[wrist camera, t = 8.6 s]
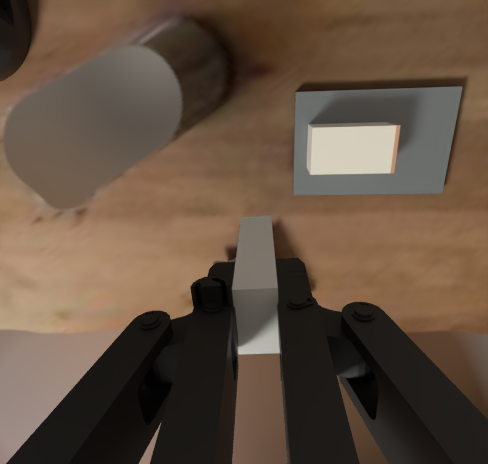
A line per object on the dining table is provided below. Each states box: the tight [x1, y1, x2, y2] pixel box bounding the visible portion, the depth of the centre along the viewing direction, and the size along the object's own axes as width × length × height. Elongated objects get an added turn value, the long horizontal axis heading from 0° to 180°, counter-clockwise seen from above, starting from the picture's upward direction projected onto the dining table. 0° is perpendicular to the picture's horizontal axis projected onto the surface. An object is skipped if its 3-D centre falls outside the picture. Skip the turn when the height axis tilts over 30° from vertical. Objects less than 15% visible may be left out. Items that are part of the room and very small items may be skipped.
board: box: [293, 86, 463, 195], centre depth 41 cm, size 18×12×1 cm, turn 92°
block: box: [307, 122, 401, 175], centre depth 39 cm, size 4×5×9 cm
